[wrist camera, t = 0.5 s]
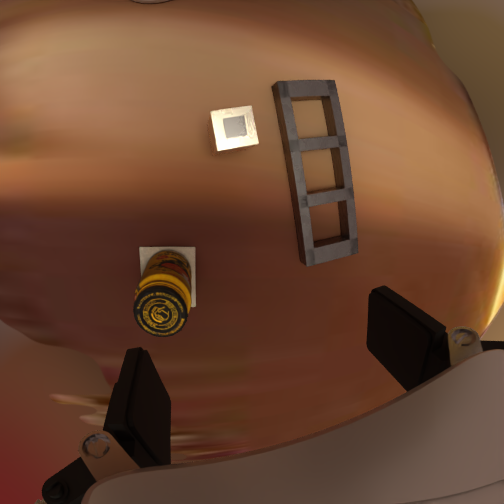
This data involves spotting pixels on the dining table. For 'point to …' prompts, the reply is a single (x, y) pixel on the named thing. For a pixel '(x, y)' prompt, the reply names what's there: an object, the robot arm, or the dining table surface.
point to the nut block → (232, 130)
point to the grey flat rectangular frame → (292, 150)
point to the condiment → (165, 289)
